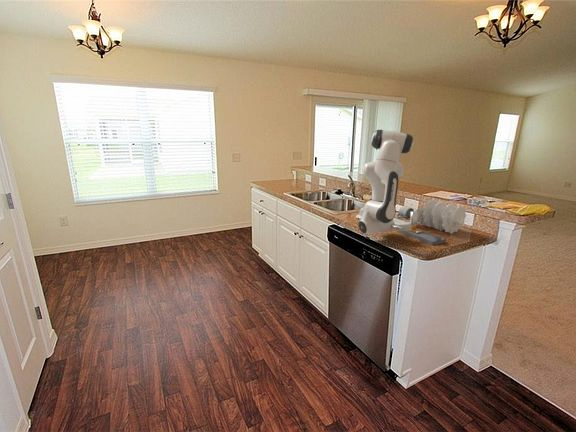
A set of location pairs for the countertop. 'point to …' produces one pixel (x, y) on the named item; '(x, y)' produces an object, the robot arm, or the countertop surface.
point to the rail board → (424, 237)
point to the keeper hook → (437, 237)
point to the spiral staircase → (441, 216)
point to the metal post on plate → (414, 222)
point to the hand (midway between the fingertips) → (404, 220)
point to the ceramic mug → (405, 212)
